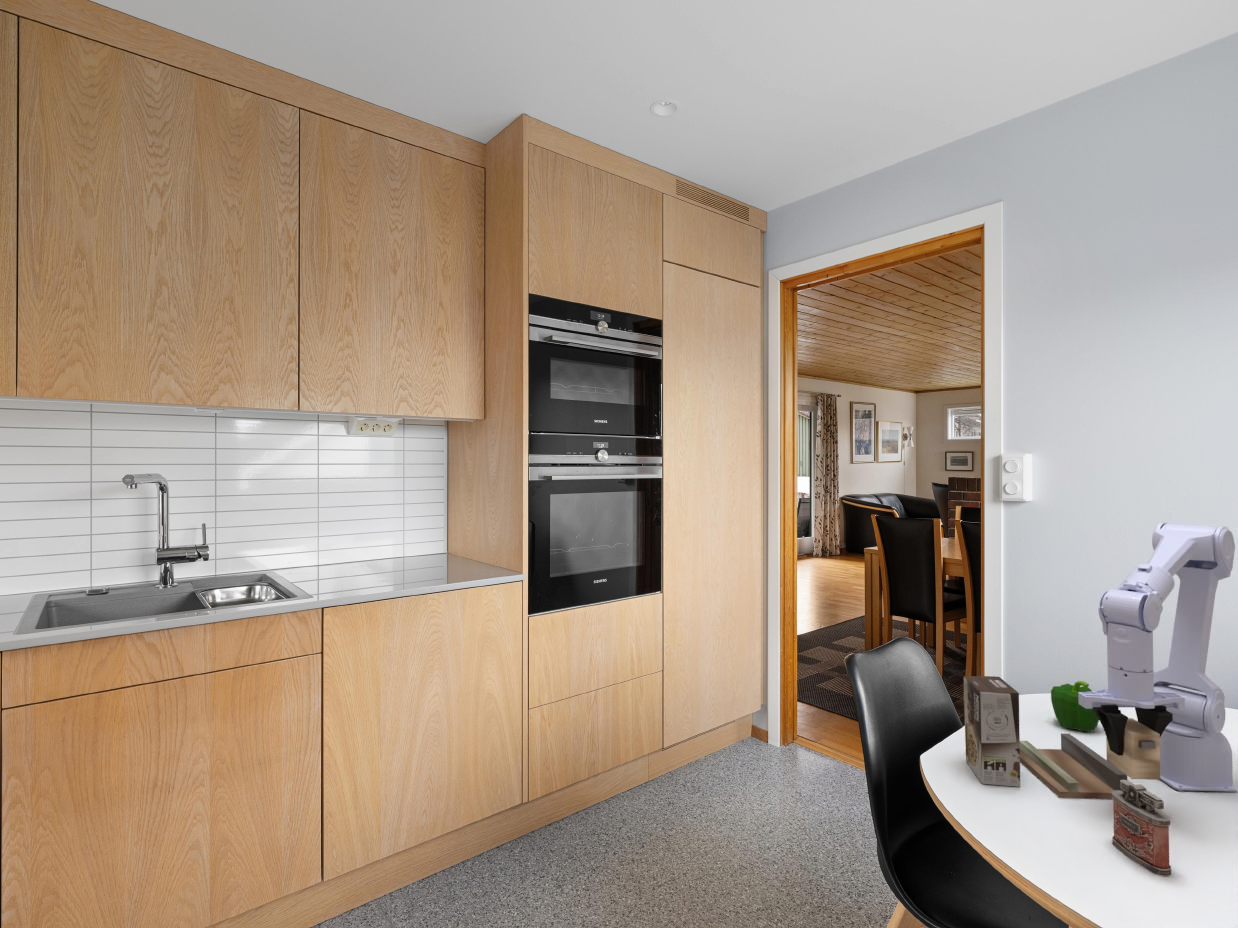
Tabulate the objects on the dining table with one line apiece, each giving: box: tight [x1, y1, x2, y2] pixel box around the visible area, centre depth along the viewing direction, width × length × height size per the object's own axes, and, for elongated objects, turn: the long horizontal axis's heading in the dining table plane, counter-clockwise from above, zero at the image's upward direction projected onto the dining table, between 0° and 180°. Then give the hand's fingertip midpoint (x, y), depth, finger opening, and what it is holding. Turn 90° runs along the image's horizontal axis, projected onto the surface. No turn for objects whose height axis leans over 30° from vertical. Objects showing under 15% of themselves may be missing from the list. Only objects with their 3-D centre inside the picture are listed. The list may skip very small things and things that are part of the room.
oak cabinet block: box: [1105, 717, 1161, 781], centre depth 102 cm, size 4×7×7 cm, turn 175°
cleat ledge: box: [1020, 733, 1128, 800], centre depth 115 cm, size 12×16×4 cm
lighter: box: [1111, 779, 1172, 877], centre depth 91 cm, size 8×3×10 cm, turn 5°
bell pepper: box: [1050, 680, 1100, 732], centre depth 134 cm, size 8×8×10 cm
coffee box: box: [963, 675, 1021, 788], centre depth 116 cm, size 9×6×16 cm
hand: (1131, 752), depth 103 cm, fingers closed on oak cabinet block, 4 cm apart
